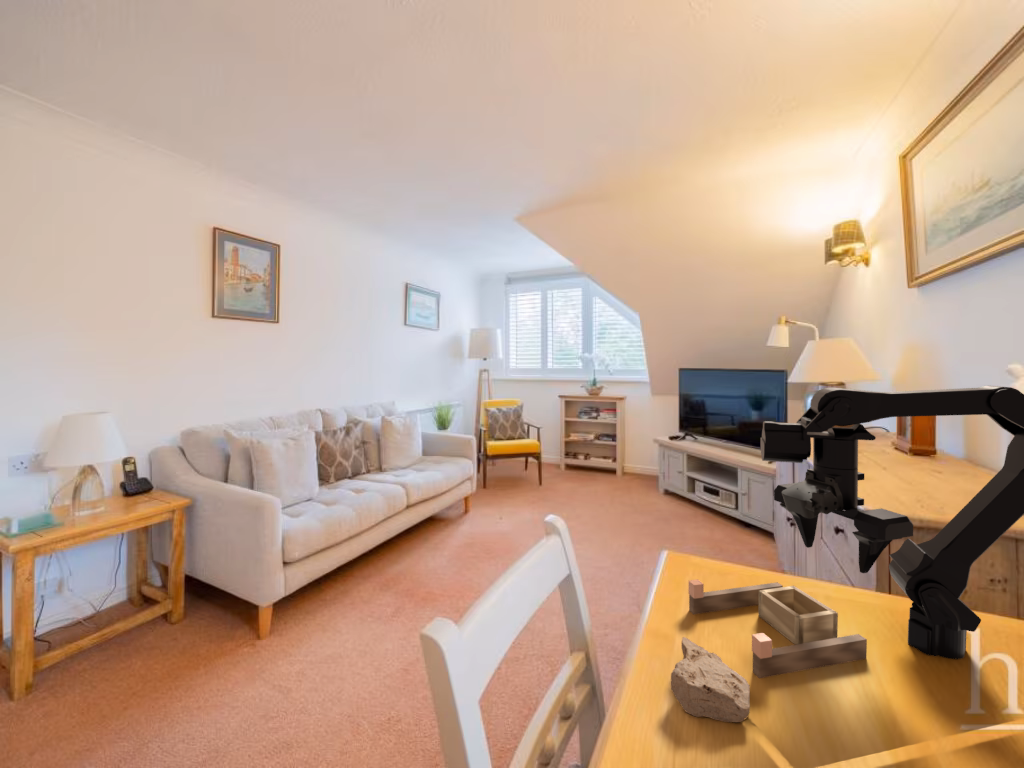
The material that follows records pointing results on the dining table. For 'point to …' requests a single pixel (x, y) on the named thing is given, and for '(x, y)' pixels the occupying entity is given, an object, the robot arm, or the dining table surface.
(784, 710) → the dining table surface
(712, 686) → the stone
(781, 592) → the box
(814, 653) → the bay
